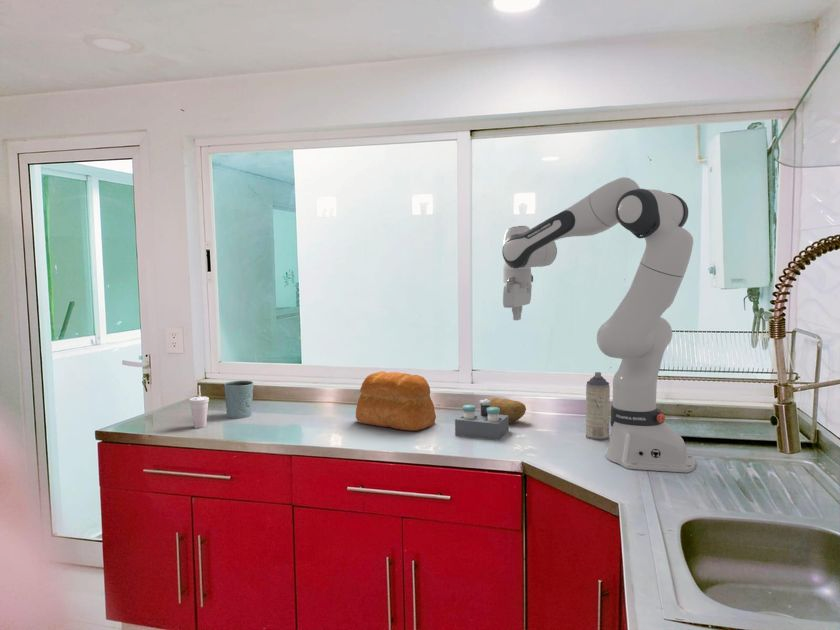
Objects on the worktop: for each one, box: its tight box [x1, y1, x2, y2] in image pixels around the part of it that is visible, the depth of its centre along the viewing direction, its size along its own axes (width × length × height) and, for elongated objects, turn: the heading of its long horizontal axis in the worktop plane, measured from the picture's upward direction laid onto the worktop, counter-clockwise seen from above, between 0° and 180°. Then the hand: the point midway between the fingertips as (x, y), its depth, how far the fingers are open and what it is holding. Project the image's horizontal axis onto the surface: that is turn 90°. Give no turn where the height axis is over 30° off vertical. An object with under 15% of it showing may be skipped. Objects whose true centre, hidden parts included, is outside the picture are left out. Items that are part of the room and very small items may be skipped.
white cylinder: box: [462, 404, 476, 419], centre depth 188 cm, size 4×4×7 cm
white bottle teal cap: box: [487, 407, 500, 422], centre depth 185 cm, size 4×4×7 cm
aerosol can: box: [585, 371, 611, 441], centre depth 181 cm, size 7×7×20 cm
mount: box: [454, 398, 510, 441], centre depth 187 cm, size 14×11×10 cm
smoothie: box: [188, 385, 210, 429], centre depth 199 cm, size 6×6×14 cm
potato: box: [487, 397, 527, 423], centre depth 200 cm, size 10×14×8 cm
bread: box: [355, 370, 437, 432], centre depth 201 cm, size 16×26×17 cm, turn 58°
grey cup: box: [223, 380, 254, 420], centre depth 214 cm, size 10×10×12 cm
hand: (517, 320), depth 192 cm, fingers closed
